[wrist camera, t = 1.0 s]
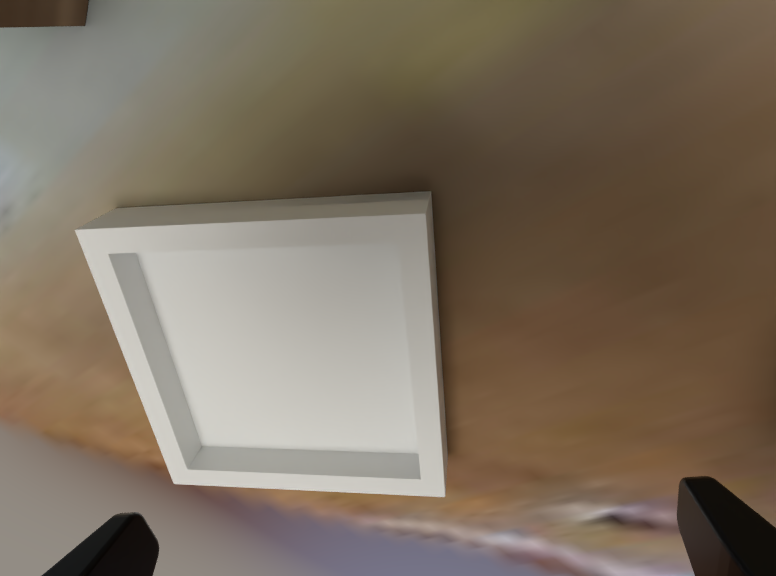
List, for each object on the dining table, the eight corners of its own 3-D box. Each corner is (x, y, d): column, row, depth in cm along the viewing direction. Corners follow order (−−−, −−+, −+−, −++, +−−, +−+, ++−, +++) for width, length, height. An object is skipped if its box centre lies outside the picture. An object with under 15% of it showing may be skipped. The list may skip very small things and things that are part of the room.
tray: (431, 191, 19) (425, 213, 17) (447, 454, 25) (445, 497, 23) (116, 208, 21) (74, 229, 19) (198, 446, 27) (173, 483, 25)
